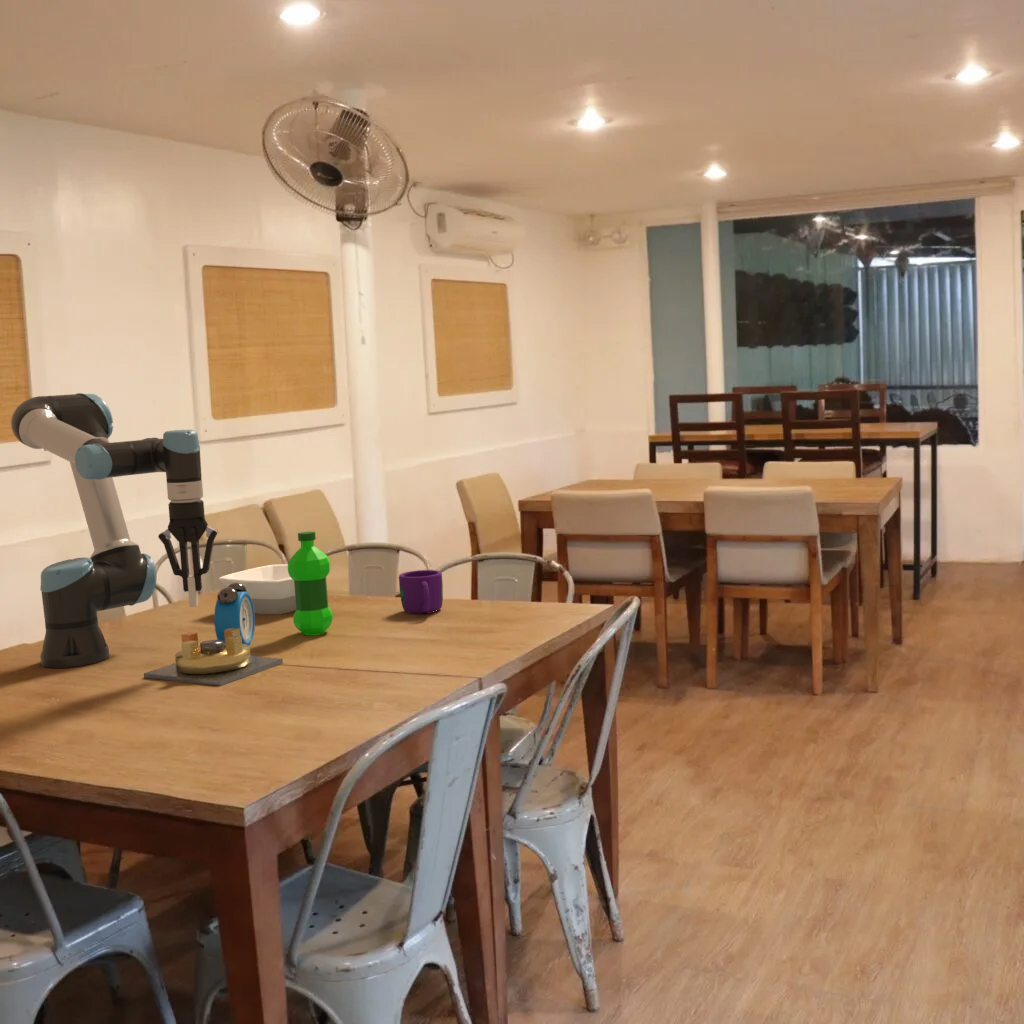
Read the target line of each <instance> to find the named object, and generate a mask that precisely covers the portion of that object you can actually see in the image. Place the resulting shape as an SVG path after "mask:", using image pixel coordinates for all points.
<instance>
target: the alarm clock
mask: <svg viewBox="0 0 1024 1024" xmlns="http://www.w3.org/2000/svg"><path fill="white" fill-rule="evenodd" d="M255 614H256V613H254V607H253V602H252V599H251V597H250V595H249V594H248V593H247V589H246V587H245V586H244V585H242V584H240V583H237V582H236V583H232V584H230V585H228V586H227V587H226V586H225V587H223V588H222V589H220V590H219V591H218V592H217V595H216V603H215V606H214V615H213V616H214V621H213V622H214V623H213V624H214V631H215V637H216V640H223V642H224V643H225V636H224V630H226V629H229V628H240V636H241V637H242V644H246V645H248V646H249V647H250V645H251V643H252V642H253V639H254V634H255V628H256V627H255V623H256V622H255V621H256V619H255V618H256V617H255Z"/></svg>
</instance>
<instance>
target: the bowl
mask: <svg viewBox="0 0 1024 1024" xmlns="http://www.w3.org/2000/svg"><path fill="white" fill-rule="evenodd" d="M330 571H331V567H330ZM218 581H219V582H221V584H223V586H224V587H225V588H226V587H227V586H228V585H230V584H232V583H236V582H237V583H240V584H242V585H244V586H245V587H246V589H247V593H248V594H249V595H250V597H251V599H252V602H253V607H254V614H258V615H283V614H287V613H291V612H295V611H296V598H295V585H294V580H293V579H292V578H291V577H290V576H289V573H288V563H286V564H275V563H274V564H269V565H263V566H262V565H261V566H258V567H253V568H248V569H245V570H241V571H236V572H233V573H229V574H226V575H222V576H220V577H218Z"/></svg>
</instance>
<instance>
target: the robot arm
mask: <svg viewBox="0 0 1024 1024" xmlns="http://www.w3.org/2000/svg"><path fill="white" fill-rule="evenodd" d="M13 411H14V412H13V413H12V417H11V420H10V426H11V431H12V433H13V435H14V436H15V438H16V440H17V441H19V443H21V444H23V445H25V446H26V447H29V448H31V449H35V450H41V449H43V450H45V451H46V452H49V453H50V454H53V455H54V456H55V455H56V456H57V457H59V458H62V459H64V460H65V461H67V462H69V464H70V468H71V472H72V475H73V478H74V482H75V486H76V489H77V493H78V496H79V500H80V504H81V506H82V510H83V514H84V517H85V522H86V524H87V528H88V532H89V535H90V539H91V542H92V546H93V552H92V553H91V555H90V556H89V557H77V558H72V559H69V558H68V559H65V560H61V561H58V562H55V563H52V564H50V565H48V566H46V567H45V568H43V570H42V571H41V572H40V591H41V599H42V609H43V617H44V626H45V634H44V639H43V644H42V650H41V652H40V655H39V656H40V665H41V667H45V668H51V669H52V668H53V669H55V668H56V669H58V668H59V669H61V668H74V667H81V666H87V665H91V664H96V663H99V662H101V661H105V660H106V659H108V658H109V657H110V650H109V648H110V647H109V645H108V643H106V639H105V637H104V634H103V632H102V630H101V627H100V626H99V616H98V612H100V611H101V612H103V611H106V610H110V609H117V608H122V607H126V606H132V607H133V606H135V605H137V604H140V603H144V602H146V601H148V600H149V599H151V597H152V596H153V594H154V593H155V588H156V585H157V569H156V565H155V564H156V563H155V562H154V559H153V558H152V557H151V556H150V554H147V553H141V550H140V549H141V548H140V546H139V544H138V543H136V542H134V541H132V540H131V537H130V535H129V534H130V533H129V530H128V526H127V523H126V520H125V517H124V514H123V510H122V507H121V502H120V500H119V495H118V493H117V488H116V486H115V482H114V478H116V477H117V478H118V477H125V476H126V477H127V476H133V475H134V476H135V475H142V474H143V475H144V474H152V473H165V475H166V476H165V477H166V478H165V479H166V492H167V499H168V501H169V503H168V505H167V506H168V515H169V522H168V525H167V529H165V530H164V531H162V532H160V533H159V534H158V536H157V538H158V539H159V540H160V542H161V543H162V544H163V546H164V549H165V552H166V554H167V559H168V561H169V564H170V566H171V570H172V573H173V575H174V576H179V577H181V579H182V585H183V586H182V589H183V592H185V593H186V592H187V593H188V601H189V602H188V603H189V607H190V608H194V607H195V608H196V607H198V605H199V597H198V596H199V595H198V594H199V593H198V592H199V591H202V587H203V585H202V584H203V583H202V575H206V574H207V573H208V572H209V571H210V566H211V559H212V554H213V548H214V543H215V539H216V537H217V535H218V534H219V530H218V529H214V528H212V527H210V526H209V525H208V522H207V521H206V518H205V516H206V515H205V504H204V503H205V502H204V501H203V500H202V498H204V492H203V491H204V490H203V480H202V465H201V464H202V463H201V462H202V461H201V445H200V442H199V433H198V432H197V431H196V430H194V429H173V430H168V431H164V432H163V434H162V438H158V437H148V438H147V437H146V438H143V439H137V440H127V441H117V442H115V441H114V442H110V441H109V438H110V437H111V435H112V433H113V429H114V426H113V424H114V421H113V420H114V419H113V416H112V415H113V414H112V412H111V410H110V408H109V406H108V404H107V402H106V401H105V400H104V399H103V398H102V397H100V396H99V395H98V394H95V393H94V394H93V393H83V392H82V393H81V392H79V393H74V394H58V395H57V394H56V395H41V396H39V395H38V396H35V397H31V398H29V399H26V400H24V401H22V402H21V403H20V404H19V405H18V406H17V407H16V408H15V410H13ZM205 532H206V537H207V539H206V544H205V545H206V546H205V551H204V557H203V561H202V563H203V564H202V566H201V557H200V556H201V554H200V553H201V552H200V540H201V538H202V537H203V535H204V534H205ZM172 536H173V537H174V539H175V540H176V541H177V542H178V544H179V545H178V547H179V551H180V552H179V554H180V564H179V560H178V557H177V555H176V552H175V549H174V546H173V543H172V541H171V538H172ZM188 543H190V547H191V553H192V554H191V555H192V568H193V575H190V566H189V553H188Z"/></svg>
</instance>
